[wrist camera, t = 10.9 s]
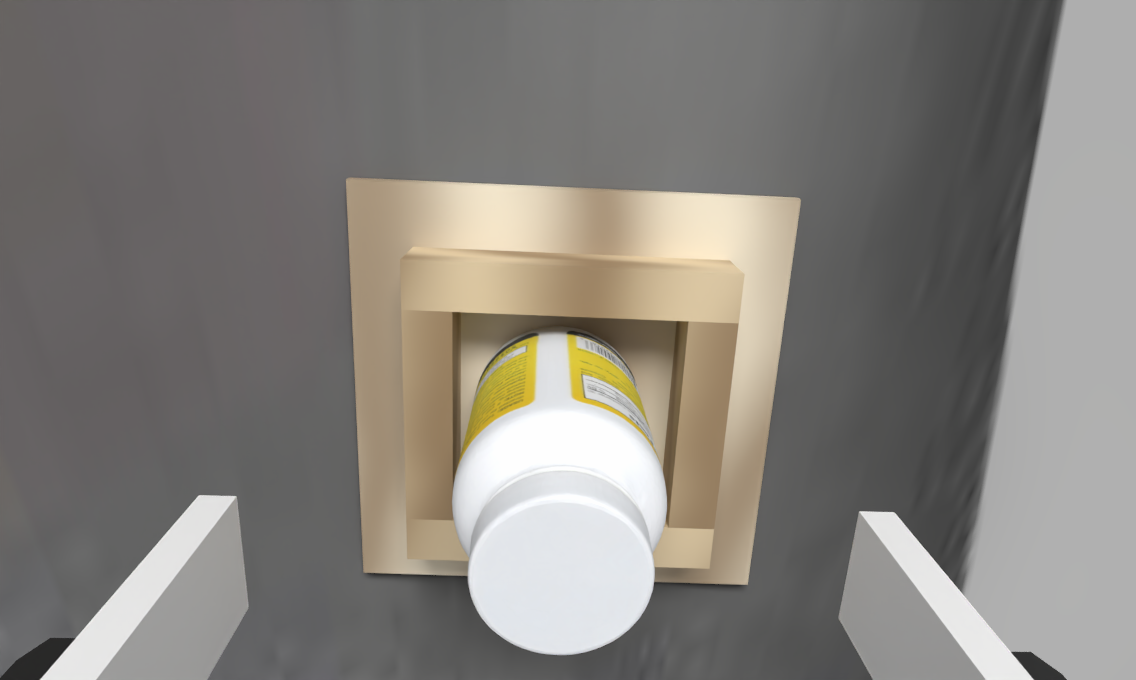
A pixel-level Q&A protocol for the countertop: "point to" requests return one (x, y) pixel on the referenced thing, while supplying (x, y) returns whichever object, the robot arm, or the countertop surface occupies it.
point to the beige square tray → (571, 299)
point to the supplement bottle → (559, 494)
